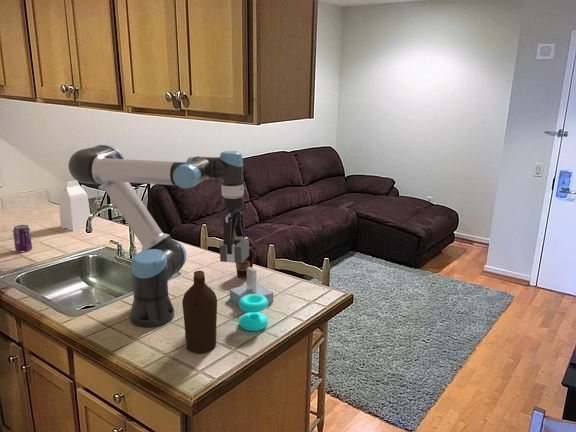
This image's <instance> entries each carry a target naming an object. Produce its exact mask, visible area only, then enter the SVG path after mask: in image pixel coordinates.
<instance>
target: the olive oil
mask: <svg viewBox="0 0 576 432" xmlns="http://www.w3.org/2000/svg"><path fill="white" fill-rule="evenodd" d="M192 278H193V283H192V285H191V286H190V287H189V288H188V289H187V290H186V291H185V293H184V295H183V298H182V303H181V304H182V313H183V323H184V336H185V348H186V350H187V351H188V352H191V353H194V354H205V353H209V352H211V351H213V350H214V349H215V348H216V347H217V320H218V319H217V318H218V316H217V315H218V298H217V295H216V293H215V291H214V290H213V289H212V288H211V287H210V286H208V284H206V278H205V271H203V270H195V271H194V272H193V276H192Z"/></svg>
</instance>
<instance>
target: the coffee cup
mask: <svg viewBox="0 0 576 432" xmlns="http://www.w3.org/2000/svg"><path fill="white" fill-rule="evenodd" d="M254 256H255V249H254V247H253V246H252V245H249V256H248V257H247V258H246V259H245V260H244V261H243V262H242V263H235V269H236V276H237V277H238V278H240V279H247V268H248V267H251V268H253V266H254Z"/></svg>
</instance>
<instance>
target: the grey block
mask: <svg viewBox="0 0 576 432" xmlns="http://www.w3.org/2000/svg"><path fill="white" fill-rule="evenodd" d="M233 244H234V252H235V263H234V264H236V263H242V262H243V261H244V260H245V259H246V258H247V257H248V256H249V246H250V240H248V239H243V240H241V239H235V238H234V240H233ZM219 262H224V263H228V262H227V251H226V245H223V242H222V243H220V244H219Z"/></svg>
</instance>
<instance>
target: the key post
mask: <svg viewBox="0 0 576 432" xmlns="http://www.w3.org/2000/svg"><path fill="white" fill-rule="evenodd" d="M256 283H257V269H255V268H253V267H252V268H251V267H248V268H247V278H246V285H247V290H248V291H250V292H251V293H256Z"/></svg>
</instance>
